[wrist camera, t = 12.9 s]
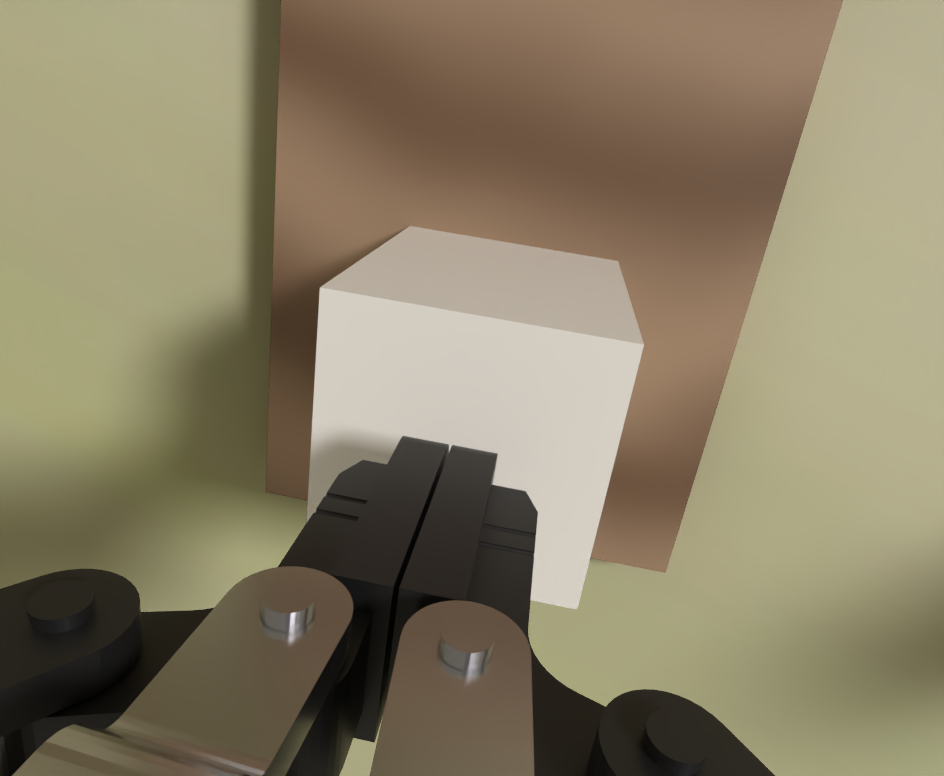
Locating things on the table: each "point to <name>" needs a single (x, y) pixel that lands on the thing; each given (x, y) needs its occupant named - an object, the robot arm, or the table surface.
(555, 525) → the white rectangular block
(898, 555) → the table surface
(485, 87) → the board
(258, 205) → the table surface
